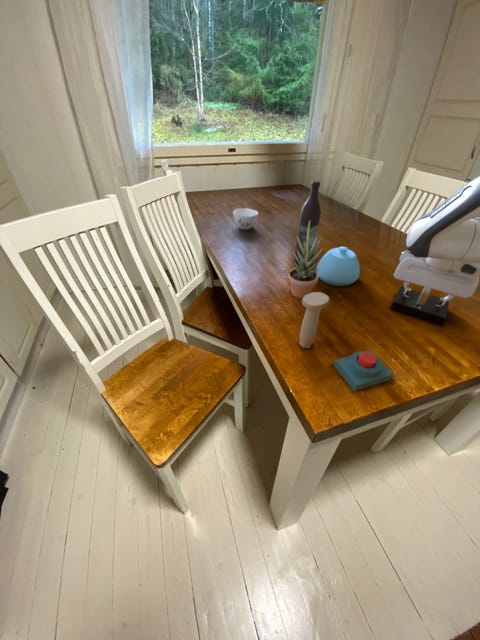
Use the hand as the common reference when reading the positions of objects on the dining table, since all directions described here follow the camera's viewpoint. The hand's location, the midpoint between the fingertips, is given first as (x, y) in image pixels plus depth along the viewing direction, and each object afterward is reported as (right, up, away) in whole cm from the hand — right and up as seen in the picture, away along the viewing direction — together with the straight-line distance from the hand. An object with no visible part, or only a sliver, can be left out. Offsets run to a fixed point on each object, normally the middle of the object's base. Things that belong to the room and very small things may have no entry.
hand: (422, 298), depth 84 cm
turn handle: (0, -1, +1) cm, 1 cm away
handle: (-39, -13, -11) cm, 42 cm away
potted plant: (-36, +2, +9) cm, 37 cm away
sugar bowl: (-21, +9, +17) cm, 29 cm away
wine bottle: (-31, +16, +26) cm, 44 cm away
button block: (-27, -19, -18) cm, 38 cm away
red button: (-27, -16, -20) cm, 38 cm away
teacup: (-53, +42, +57) cm, 88 cm away
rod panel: (0, -3, +2) cm, 4 cm away
